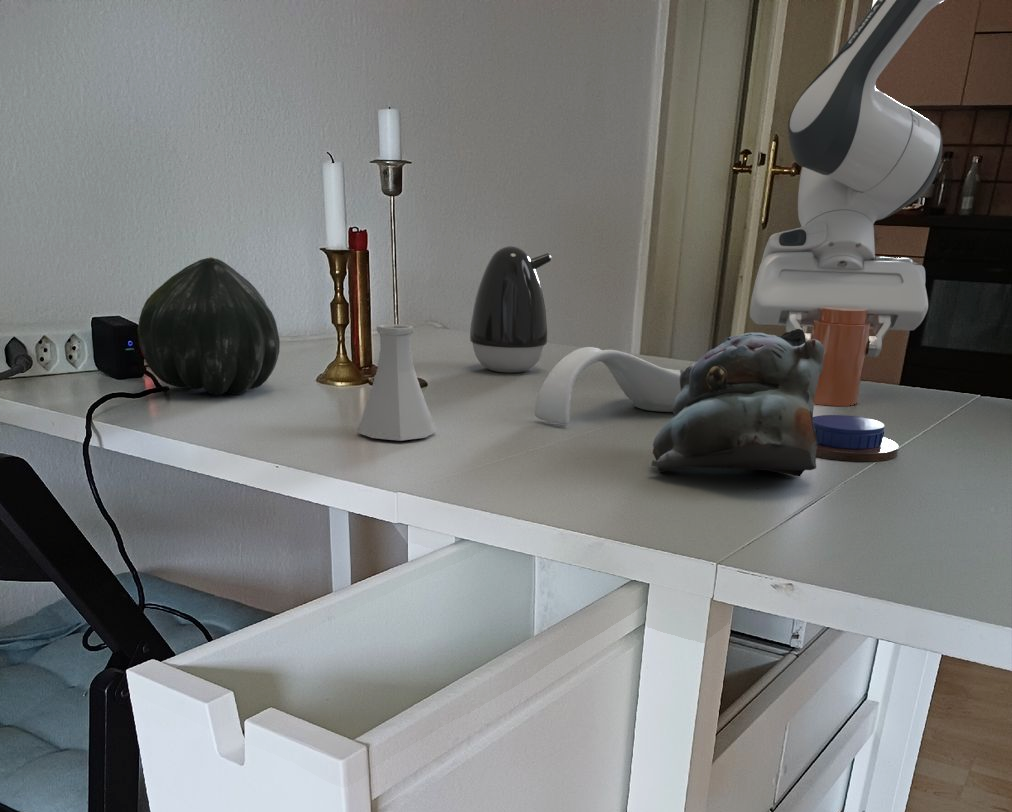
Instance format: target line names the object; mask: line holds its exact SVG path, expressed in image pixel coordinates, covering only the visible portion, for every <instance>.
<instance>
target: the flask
mask: <svg viewBox="0 0 1012 812" xmlns="http://www.w3.org/2000/svg"><path fill="white" fill-rule="evenodd" d="M376 332H377V334H379V338H380V339H379V340H380V342H379V343H380V350H379V357H378V362H377V363H378V364H377V369H376V373H375V376H374V379H373V382H372V385H371V388H370V392H369V395H368V399H367V401H366V404H365V406H364V410H363V412H362V416H361V418H360V422H359V424H358V427H357V430H356V433H358V434H361V435H364V436H366V437H369V438H371V439H377V440H378V439H379V440H389V441H397V442H398V441H400V442H401V441H408V440H417V439H424V438H428V437H430V436H431V435H433V434H435V433H436V432H437V429H436V425H435V423H434V421H433V417H432V415H431V413H430V410H429V407H428V405H427V402H426V400H425V396H424V394H423V391H422V387H421V384H420V382H419V379H418V377H417V373H416V371H415V366H414V360H413V356H412V349H411V335H412V334H413V333H414V326H412V325H407V324H398V323H397V324H396V323H391V324H390V323H389V324H381V325H377V326H376Z"/></svg>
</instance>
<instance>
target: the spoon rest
mask: <svg viewBox="0 0 1012 812" xmlns="http://www.w3.org/2000/svg"><path fill="white" fill-rule="evenodd" d="M598 362H602V363H603V364H604V365H605V366H606V368H607V369H608V370H609V372H610V373H611V375H612V378H614V380H615V382H616V383H617V385H618V386H619V388H620V389H621V391H622V392H623V394H624V395H625V396H626V397H627V398H628V399H629V400H630V401H631V402H632V404H633V406H634V407H636V408H638V409H641V410H645V411H649V412H650V411H651V412H661V413H663V412H664V413H673V411H672V408H673V405H674V399H675V398H676V396H677V395H678V394H679V393H680V392H681V388H680V374H681V372H680V370H681V369H680V370H679V369H673V368H664V367H661V366H659V365H656V364H654V363H652V362H649V361H647V360H645V359H642V358H640V357H638V356H635V355H633V354H630V353H627V352H624V351H621V350H616V349H604V350H602V349H601V348H598V347H595V346H594V347H593V346H584V347H580V348H576V349H575V350H573V351H571V352H569V353H568V354H566V355H565V356H564V357H563V358H561V359H560V360H559V361H558V362H557V363H556V364H555V365H554V366H553V367H552V369H551V370H550V371H549V373H548V374H547V376H546V377H545V379H544V382H543V383H542V385H541V388H540V390H539V393H538V396H537V399H536V403H535V409H534V416H535V417H536V418H537V419H539V420H542V421H546V422H549V423H554V424H558V425H568V424H569V421H570V410H571V409H570V408H571V398H572V392H573V388H574V386H575V382H576V381H577V379H578V377H579V375H580V374H581V373H582V372H583V371H584V370H585V369H587V368H588V367H589V366H591V365H593V364H594V363H598Z"/></svg>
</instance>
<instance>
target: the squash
mask: <svg viewBox="0 0 1012 812" xmlns="http://www.w3.org/2000/svg"><path fill="white" fill-rule="evenodd" d="M137 337H138V343H139V348H140V351H141V354H142V356H143V358H144V361H145V363H146V364H147V366H148V367H149V369H150V371H151V372H152V373H153V374H154V375H155V376H156V378H158V379H159V380H160V381H161V382H163V383H165V384H167V385H169V386H171V387H176V388H189V389H194V390H199V389H202V388H203V389H204V390H205V391H206V392H207V393H209V394H211V395H214V396H222V395H223V394H225V393H226V392H227V393H228V394H231V395H240V394H243V393H245V392H247V391H248V390H254V389H256V388H259V387H261V386H263V384H265V383H266V382H267V380H268V379H269V377H270V376H271V375H272V374H273V371H274V370H275V368H276V364H277V362H278V359H279V355H280V347H281V345H280V344H281V343H280V334H279V330H278V326H277V321H276V319H275V316H274V314H273V312H272V310H271V309H270V308H269V306H268V305H267V302H266V301H265V298H264V297H263V296H262V294H261V293H260V292H259V290H258V289H257V288H256V286H254V285H253V283H251V282H250V281H249V280H248V279H247V278H245V277H244V276H243V275H242V274H240V273H239V272H238V271H237V270H235V269H234V268H233V267H232V266H230V265H229V264H227V263H226V262H224V261H223V260H221V259H219V258H215V257H207V258H202V259H199V260H197V261H195V262H193V263H191V264H189V265H187V266H186V267H184V268H183V269H181V270H179V271H178V272H176V273H175V274H174V275H172V276H171V277H170V278H168V279H167V280H166V281H165V282H163V283H162V285H160V286H159V287H158V288H157V289H155V290H154V292H153V293H151V295H149V297H148V298H147V299H146V301H145V302H144V304H143V307H142V308H141V312H140V316H139V320H138V324H137Z"/></svg>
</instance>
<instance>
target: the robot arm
mask: <svg viewBox="0 0 1012 812" xmlns="http://www.w3.org/2000/svg"><path fill="white" fill-rule="evenodd" d="M944 1H945V0H876V2H875V3H874V4H873V5H872V7H871V8H870V9H869V11H868V12H867V13H866V15H865V16H864V17H863V19H862V20H861V22H859V24H858V26H857V27H856V28H855V29H854V31H853V33H852V34H850V36H849V38H848V39H847V40H846V42H845V43H844V44H843V46H842V47H841V48H840V50H839V51H838V52H837V54H836V55H835V56H834V57H833V58H832V60H831V61H830V62H829V63H828V64H827V65H826V66H825V67H824V68H823V69H822V71H820V73H819V74H818V75H817V76H816V77H815V78H814V79H813V80H812V81H811V82H810V84H808V86H807V87H806V88H805V89H804V90H803V92H802V93H801V94H800V96H799V97H798V99H797V100H796V102H795V104H794V105H793V107H792V110H791V112H790V115H789V116H788V117H789V118H788V120H787V121H788V122H787V135H788V136H787V137H788V143H789V148H790V151H791V154H792V157H793V159H794V162H795V163H796V165H798V166H800V167H802V168H801V172H800V177H799V182H798V192H797V217H798V218H797V219H798V221H799V223H800V227H797V228H793V229H788V230H785V231H780V232H776V233H773V234H771V235H770V237H769V238H768V241H767V242H766V245H765V247H764V250H763V253H762V254H763V255H762V257H761V262H760V264H759V267H758V270H757V273H756V277H755V280H754V285H753V289H752V294H751V298H750V303H749V319H751V321H752V322H753V323H754V324H756V325H763V326H785V333H786V332H791V331H792V330H795V329H801V330H803V327H813V321H814V320H815V319H819V316H820V310H819V309H820V308H821V307H822V306H838V307H860V308H865V309H868V312H867V318H866V322H869V323H871V327H870V330H873V335H869V338H868V344H867V349H866V355H865V357H870V358H879V356H880V354H881V352H882V348H883V340H884V338H885V337H886V335H887V333H888V331H915V330H916V329H917V328H918V327H919V326H920V325H921V324H922V322H923V321H924V319H925V318H926V315H927V313H928V311H929V297H928V293H927V288H926V281H927V280H926V269H925V267H924V265H921V264H920V263H918V262H915V261H913V259H912V258H909V257H901V258H899V257H898V258H897V257H896V258H894V257H888V256H876V247H875V246H876V245H875V226H874V224H875V222H876V221H882V220H884V219H886V218H888V217H891V216H893V215H894V214H896V213H898V212H900V211H901V210H903V209H904V208H907V206H909V205H911V204H912V203H914V202H916V201H917V200H918V199H919V198H920V197H922V196H923V194H924V193H926V192H927V190H929V188H930V187H931V185H932V184H933V182H934V180H935V178H936V176H937V173H938V171H939V167H940V163H941V161H942V160H941V159H942V154H943V136H942V131H941V129H940V127H939V126H938V125H937V124H935V123H933V122H932V121H931V120H930V119H928V118H926V117H924V116H923V115H922V114H920V113H918V112H917V111H915V110H913V109H912V108H910V107H908V106H907V105H903V104H902V103H900V102H899V101H897V100H895V99H894V98H892V97H890V96H888V95H887V94H886V93H883V91H880V89H877V88H876V84H877V83H876V82H877V80H878V77H880V75H881V74H882V72H883V71H884V70H885V68H886V67H888V64H889V63H890V62H891V60H893V58H894V57H895V55H897V53H898V51H899V50H900V49H901V47H902V46H903V45H904V43H905V42H906V41H907V39H909V37H910V36H911V35H912V33H913V32H914V31H915V29H916V28H917V27H918V26H919V24H921V22H922V20H923V19H924V18H925V17H926V16H927V14H928V13H929V12H930V11H932V9H934V8H935V7H936V6H937V5H939V4H941V3H942V2H944ZM803 332H804V334H805V339H806V341H808V340H811V334H812V332H810V333H808V332H805V331H804V330H803Z"/></svg>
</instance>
